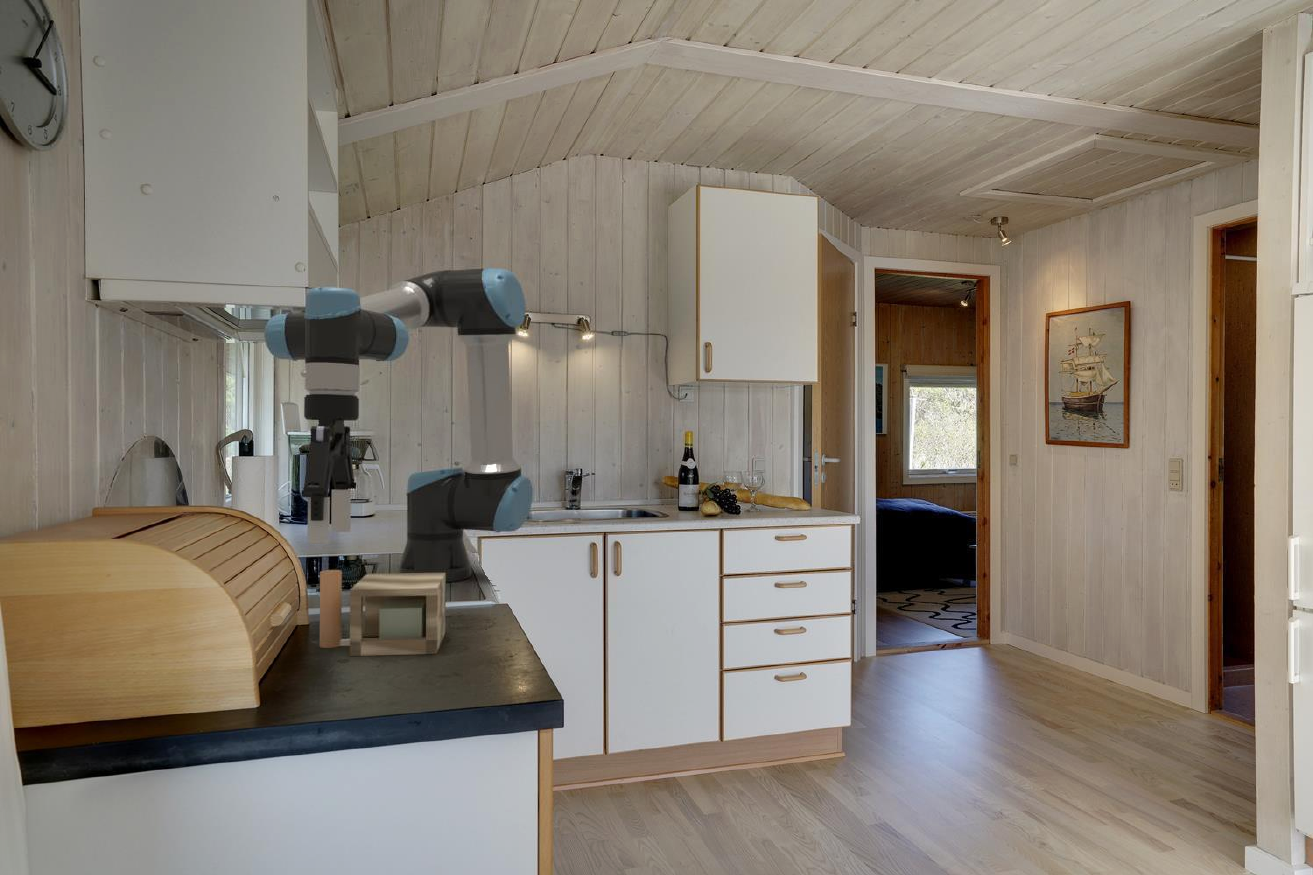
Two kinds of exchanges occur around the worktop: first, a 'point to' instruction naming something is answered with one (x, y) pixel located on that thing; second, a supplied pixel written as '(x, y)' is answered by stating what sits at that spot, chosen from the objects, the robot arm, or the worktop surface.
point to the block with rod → (393, 617)
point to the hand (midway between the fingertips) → (330, 537)
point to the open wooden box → (396, 588)
